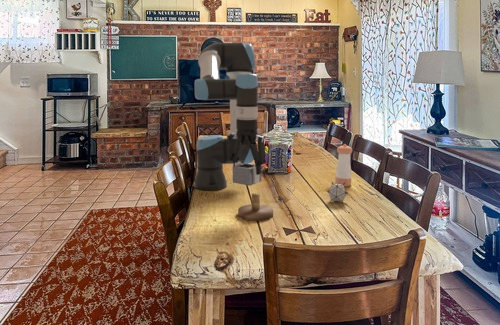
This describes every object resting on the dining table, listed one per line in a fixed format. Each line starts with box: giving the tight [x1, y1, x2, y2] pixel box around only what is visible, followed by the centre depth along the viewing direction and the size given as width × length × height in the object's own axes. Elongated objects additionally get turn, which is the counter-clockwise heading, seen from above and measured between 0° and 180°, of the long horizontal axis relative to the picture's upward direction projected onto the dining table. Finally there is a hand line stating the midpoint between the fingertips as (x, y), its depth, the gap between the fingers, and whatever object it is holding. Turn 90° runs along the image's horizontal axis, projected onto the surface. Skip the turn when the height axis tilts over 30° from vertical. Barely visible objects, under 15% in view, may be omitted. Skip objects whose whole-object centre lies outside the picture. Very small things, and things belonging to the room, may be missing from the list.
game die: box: [326, 181, 349, 204], centre depth 174 cm, size 9×8×10 cm
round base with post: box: [237, 192, 274, 222], centre depth 158 cm, size 13×13×8 cm
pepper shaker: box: [334, 143, 353, 187], centre depth 199 cm, size 7×7×19 cm
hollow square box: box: [232, 163, 263, 187], centre depth 155 cm, size 8×8×6 cm
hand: (247, 181), depth 155 cm, fingers closed on hollow square box, 7 cm apart
